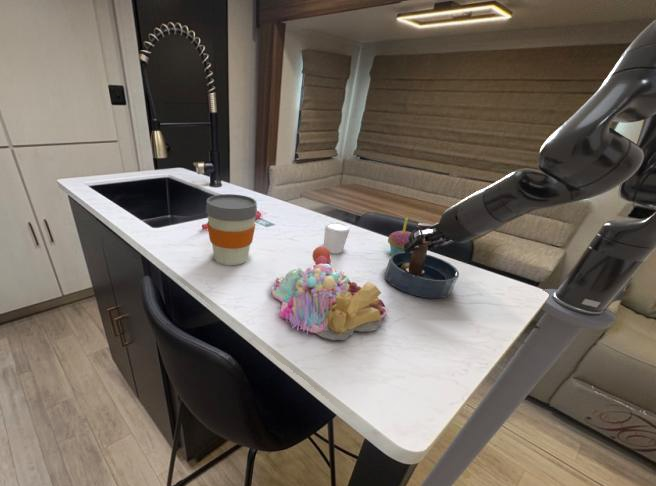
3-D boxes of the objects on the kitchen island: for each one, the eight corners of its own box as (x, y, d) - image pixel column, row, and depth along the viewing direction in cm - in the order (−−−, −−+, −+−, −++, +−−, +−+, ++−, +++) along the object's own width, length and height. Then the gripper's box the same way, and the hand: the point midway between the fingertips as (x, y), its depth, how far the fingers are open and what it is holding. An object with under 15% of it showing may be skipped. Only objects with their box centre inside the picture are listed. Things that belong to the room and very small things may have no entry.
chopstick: (263, 221, 109) (255, 213, 111) (264, 216, 108) (256, 208, 110) (206, 235, 96) (198, 226, 97) (207, 229, 94) (199, 220, 96)
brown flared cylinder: (416, 270, 76) (428, 221, 70) (427, 276, 72) (440, 226, 67) (401, 271, 75) (412, 222, 70) (411, 278, 72) (423, 227, 66)
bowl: (428, 269, 83) (435, 252, 80) (464, 300, 71) (473, 281, 68) (375, 268, 82) (380, 250, 79) (401, 299, 69) (408, 280, 67)
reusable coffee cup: (204, 267, 77) (202, 207, 68) (209, 246, 87) (208, 192, 79) (254, 269, 77) (258, 210, 69) (253, 248, 88) (257, 195, 79)
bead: (412, 273, 79) (416, 263, 77) (409, 278, 77) (413, 267, 75) (400, 269, 81) (404, 259, 79) (397, 274, 79) (400, 263, 77)
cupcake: (398, 263, 85) (413, 221, 78) (377, 250, 91) (389, 211, 85) (420, 259, 88) (437, 218, 81) (399, 247, 94) (412, 209, 88)
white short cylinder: (334, 243, 94) (339, 221, 91) (349, 252, 89) (355, 229, 86) (316, 246, 92) (320, 223, 88) (330, 255, 87) (335, 232, 83)
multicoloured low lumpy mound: (404, 311, 65) (419, 273, 60) (338, 361, 52) (351, 317, 47) (313, 266, 80) (319, 233, 75) (244, 296, 67) (246, 257, 62)
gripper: (501, 196, 59) (432, 232, 76) (440, 197, 56) (383, 235, 72) (511, 232, 58) (440, 262, 74) (450, 235, 55) (389, 265, 71)
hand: (412, 248), depth 73 cm, fingers closed on brown flared cylinder, 3 cm apart
